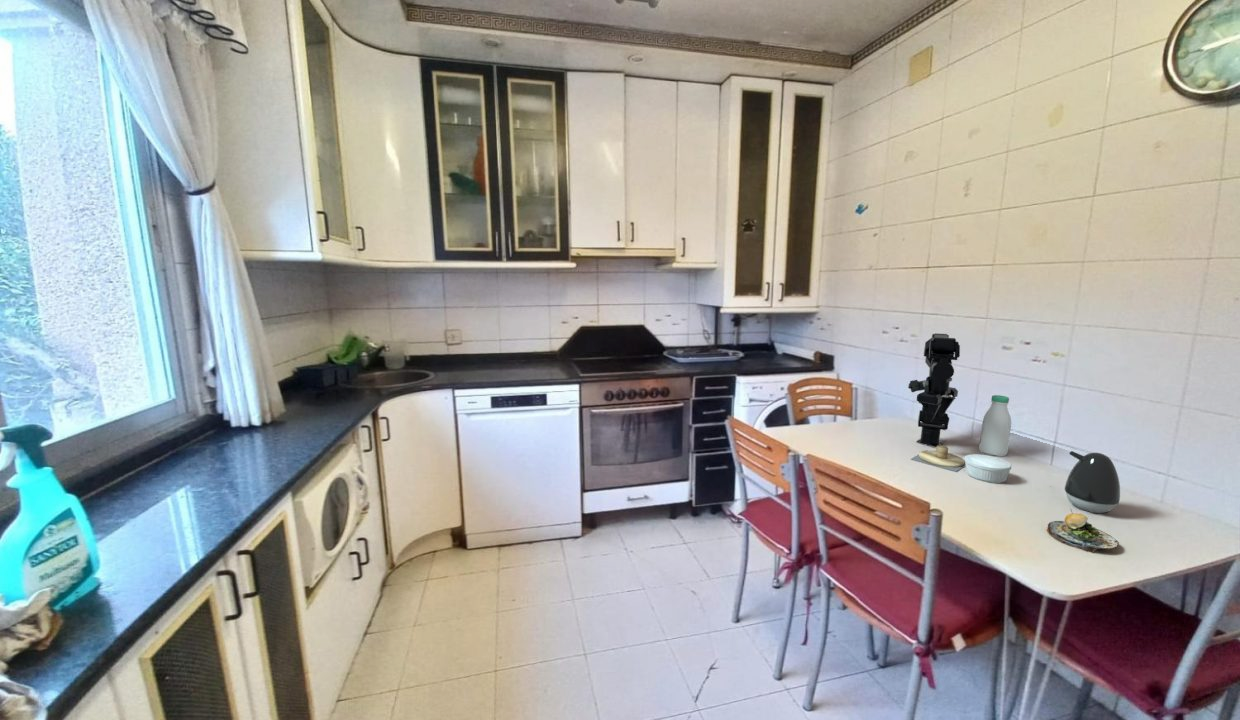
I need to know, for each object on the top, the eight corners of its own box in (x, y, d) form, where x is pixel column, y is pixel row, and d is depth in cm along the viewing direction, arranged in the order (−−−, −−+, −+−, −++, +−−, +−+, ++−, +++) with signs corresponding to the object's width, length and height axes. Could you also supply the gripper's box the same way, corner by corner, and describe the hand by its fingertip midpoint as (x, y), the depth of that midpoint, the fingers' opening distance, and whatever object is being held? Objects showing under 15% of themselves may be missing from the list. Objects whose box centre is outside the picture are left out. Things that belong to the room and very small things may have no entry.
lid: (927, 450, 163) (928, 438, 163) (969, 461, 154) (971, 448, 153) (912, 458, 156) (914, 445, 155) (956, 470, 146) (957, 457, 145)
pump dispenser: (1062, 495, 130) (1071, 443, 128) (1116, 508, 123) (1127, 453, 120) (1059, 507, 123) (1069, 452, 121) (1117, 522, 116) (1128, 464, 113)
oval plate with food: (1101, 560, 101) (1107, 528, 99) (1035, 533, 111) (1040, 504, 110) (1128, 547, 105) (1135, 516, 104) (1063, 522, 116) (1068, 494, 115)
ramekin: (960, 477, 142) (962, 461, 141) (965, 466, 150) (967, 451, 149) (1007, 488, 135) (1010, 471, 134) (1010, 476, 143) (1012, 460, 142)
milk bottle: (1012, 456, 158) (1021, 399, 155) (989, 456, 159) (997, 399, 155) (995, 448, 166) (1003, 393, 163) (973, 448, 166) (980, 393, 163)
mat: (926, 450, 164) (926, 450, 164) (970, 462, 154) (970, 461, 154) (910, 459, 156) (910, 458, 156) (956, 472, 146) (956, 471, 146)
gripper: (924, 367, 170) (920, 409, 172) (902, 374, 158) (897, 418, 161) (960, 372, 161) (955, 416, 163) (939, 379, 150) (934, 426, 152)
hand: (934, 419), depth 160 cm, fingers open, 9 cm apart
